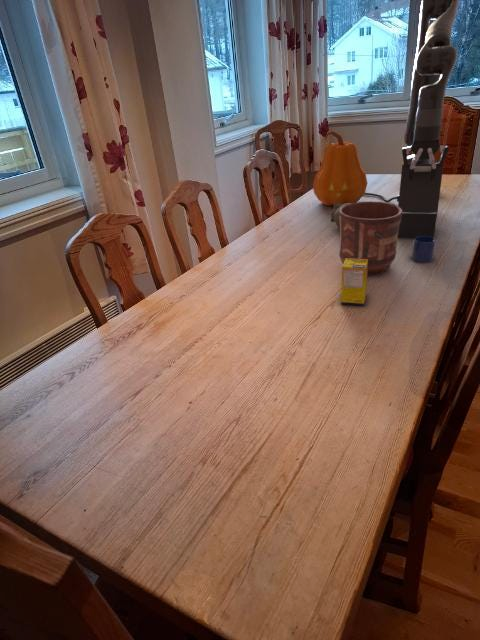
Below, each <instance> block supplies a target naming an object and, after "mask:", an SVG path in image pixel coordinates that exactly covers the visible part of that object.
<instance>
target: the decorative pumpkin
mask: <svg viewBox="0 0 480 640" xmlns="http://www.w3.org/2000/svg"><path fill="white" fill-rule="evenodd" d="M329 135H330V136H331V135H332V136H333V137H335V138H336V139H337V141H336V142H335V143H333V142H331V143H329V144H328V145H327V146H326V148H325V149H324V153H323V159H322V160H321V164H320V167H319V169H318V171H317V172H316V174H315V175H314V179H313V183H312V185H313V186H312V190H313V194H314V196H315V197H316V198H317V200H318V201H319V202H321V203H322V204H324V205H325V206H329V207H330V206H333V205H334V204H336V203H337V204H339V203H340V204H342V205H343V204H345V203H351V204H352V203H358V202H359V200H361V199H362V198H363V196H364V195H363V194H364V193H366V191H367V188H368V187H367V186H368V177H367V174H366V171H365V170H364V169H363V167H362V165H361V162H360V161H361V160H360V158H359V154H358V147H357V146H356V144H355V143H353V142H351V141H350V142H349V141H344V140H343V138H342V135H340V134H339V133H337V132H336V131H329V132H327V133H326V134H325V136H324V137H325V138H324V139H325V140H326V141H327V140H328V137H329Z"/></svg>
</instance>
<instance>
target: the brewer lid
mask: <svg viewBox="0 0 480 640" xmlns="http://www.w3.org/2000/svg"><path fill="white" fill-rule="evenodd" d="M431 168H432V165H431V163H430V164H416V165H415V167H414V177H413V181H411V179H409V171H410V169H409V168H405V167H404V163H403V164H401V172H400V173H401V174H400V182H399V194H398V196H399V202H397V206H398V207H400V208H401V209H402V212H437V213H439V212H438V211H439V205H440V195H441V189H442V188H441V186H442V179H443V172H444V171H443V170H444V165H443V166H442V167H438V168H436V172H435V178H434V179H432V181H430V172H431Z"/></svg>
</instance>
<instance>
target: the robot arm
mask: <svg viewBox="0 0 480 640" xmlns="http://www.w3.org/2000/svg"><path fill="white" fill-rule="evenodd" d="M459 4H460V0H421V1H420V9H419V11H420V13H419V23H418V35H417V43H416V44H417V46H416V53H415V58H414V63H413V64H414V65H413V71H412V80H411V89H410V97H409V98H410V99H409V100H410V101H409V105H408V106H409V107H408V110H407V111H408V113H407V117H406V122H405V128H404V134H403V144H404V147H402V148H401V153H402V160H403V164H404V167H405V168H409V169H410V171H409V179H411V181H413V177H414V167H415V165H416V164H431V165H432V168H431V172H430V181H432V179H434V178H435V172H436V168H438V167H442V166H443V167H444V163H445V161H446V158H447V155H448V153H449V150H450V147H449V146H448V145H441V143H440V138H441V131H442V123H443V116H444V101H445V94H446V89H447V86H448V83H449V80H450V77H451V74H452V72H453V69H454V67H455V65H456V62H457V59H458V51H457V49H456V47H455V46H454V45H451V43H452V31H453V26H454V24H455V20H456V16H457V12H458V8H459ZM430 21H432V22H431V24H430ZM438 151H440V153H441V154H440V158H439V160H438V162H436V159H435V156H434V155H435V154H436V153H437V152H438ZM410 152H412V153H413V154H411V155H409V154H410ZM311 186H312V187H313V184H312V185H311ZM363 196H372V197H377V198H381V199H382V200H383V202H385V203H390V202H391V201H393V200H396V202H397V203H398V202H399V195H397V196H393V197H390V198H389V199H387V198H385V197H384V196H383V195H381V194H377V193H371V192H365V193H364V194H363Z"/></svg>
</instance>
